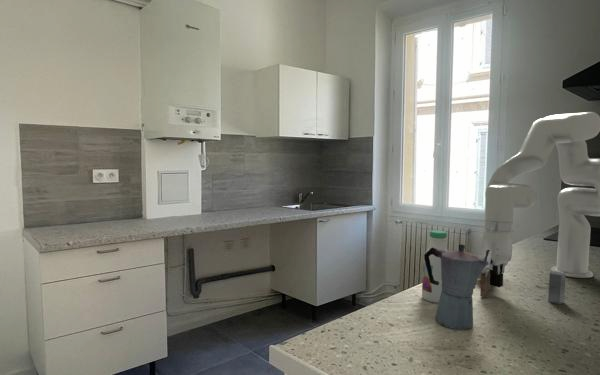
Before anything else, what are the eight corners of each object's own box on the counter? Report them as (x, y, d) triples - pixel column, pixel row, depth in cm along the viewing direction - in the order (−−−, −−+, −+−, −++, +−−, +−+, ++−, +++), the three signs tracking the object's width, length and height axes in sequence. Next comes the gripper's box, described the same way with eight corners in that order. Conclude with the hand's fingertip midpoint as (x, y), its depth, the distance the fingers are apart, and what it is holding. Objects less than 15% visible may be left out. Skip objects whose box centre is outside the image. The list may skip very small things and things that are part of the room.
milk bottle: (449, 296, 118) (452, 230, 116) (450, 305, 110) (453, 234, 109) (422, 293, 120) (424, 228, 119) (421, 301, 113) (423, 232, 112)
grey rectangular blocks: (479, 279, 135) (480, 255, 135) (564, 302, 114) (565, 273, 113) (474, 280, 134) (475, 256, 133) (559, 304, 112) (561, 275, 112)
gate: (495, 282, 131) (496, 260, 130) (486, 297, 116) (487, 272, 116) (485, 280, 132) (486, 258, 132) (475, 295, 118) (477, 270, 117)
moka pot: (483, 337, 90) (487, 251, 89) (415, 322, 99) (418, 243, 97) (488, 323, 98) (492, 244, 97) (425, 310, 107) (428, 237, 105)
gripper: (499, 222, 126) (497, 278, 127) (472, 226, 117) (470, 287, 119) (523, 225, 120) (521, 284, 121) (497, 230, 111) (495, 294, 113)
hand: (496, 285), depth 120 cm, fingers closed
